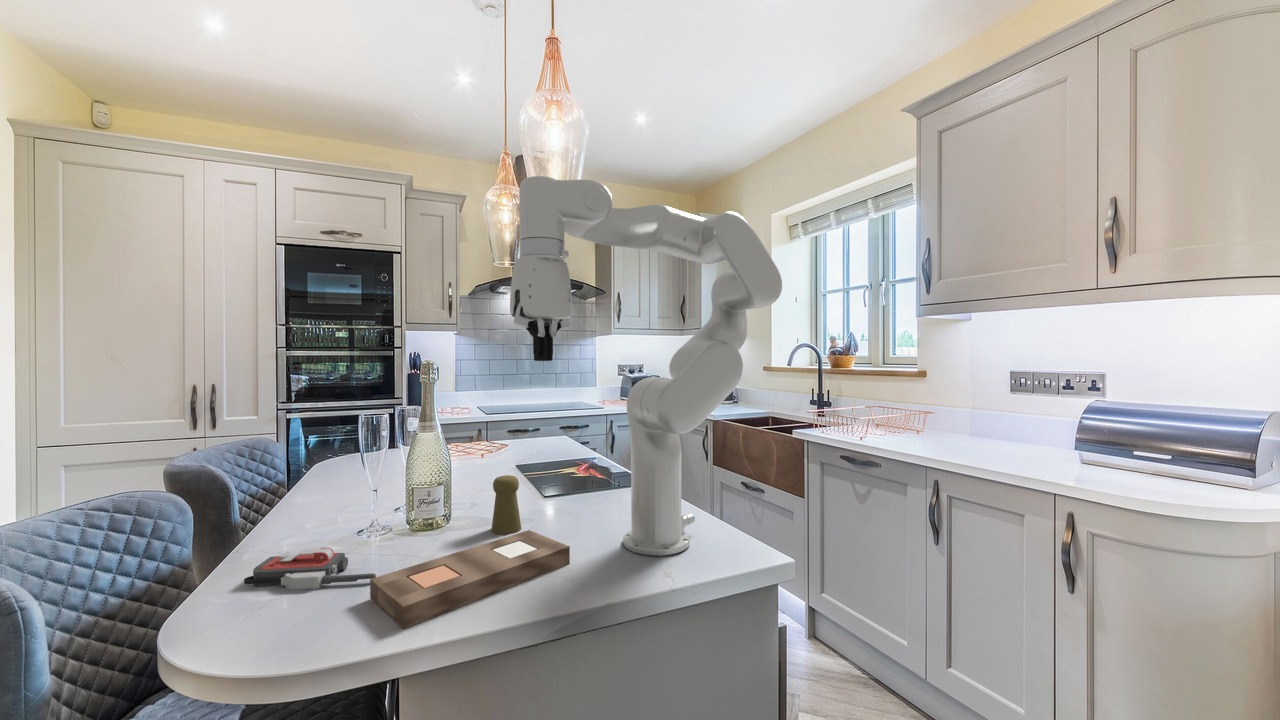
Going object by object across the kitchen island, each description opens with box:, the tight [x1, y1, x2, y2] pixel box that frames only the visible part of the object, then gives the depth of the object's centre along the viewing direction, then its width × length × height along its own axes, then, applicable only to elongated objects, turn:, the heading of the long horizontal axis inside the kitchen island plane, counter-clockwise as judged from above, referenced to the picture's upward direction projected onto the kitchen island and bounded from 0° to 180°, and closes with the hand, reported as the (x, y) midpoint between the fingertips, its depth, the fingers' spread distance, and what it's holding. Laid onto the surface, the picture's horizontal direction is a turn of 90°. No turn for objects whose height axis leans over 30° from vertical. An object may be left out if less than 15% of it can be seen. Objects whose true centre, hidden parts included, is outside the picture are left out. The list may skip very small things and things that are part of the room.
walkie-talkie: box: [243, 547, 377, 591], centre depth 83 cm, size 9×4×20 cm
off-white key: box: [492, 541, 537, 559], centre depth 86 cm, size 5×5×2 cm
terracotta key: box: [409, 565, 460, 589], centre depth 76 cm, size 5×5×2 cm
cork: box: [491, 474, 522, 536], centre depth 105 cm, size 6×6×11 cm
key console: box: [369, 529, 571, 630], centre depth 81 cm, size 28×12×3 cm, turn 137°
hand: (543, 360), depth 87 cm, fingers closed
